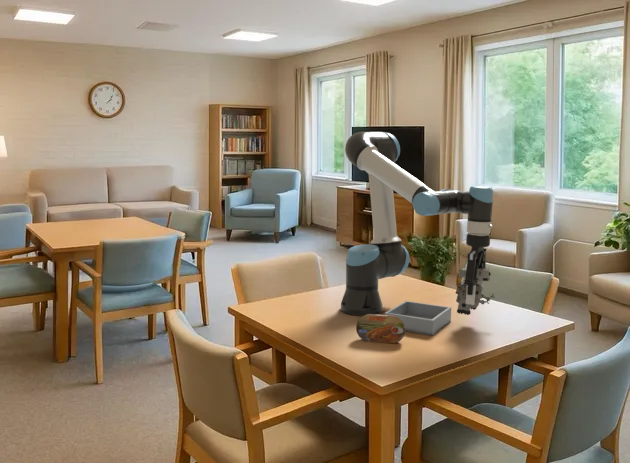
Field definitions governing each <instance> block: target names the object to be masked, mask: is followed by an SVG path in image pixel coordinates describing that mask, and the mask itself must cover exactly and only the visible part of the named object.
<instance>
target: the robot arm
mask: <svg viewBox="0 0 630 463" xmlns="http://www.w3.org/2000/svg"><path fill="white" fill-rule="evenodd" d="M344 146H345V149H344V150H345V151H344V152H345V155H346V158H347V159H348V161H349V162H350V163H351V164H352V165H354V166H355V167H356V168H358V169H359V170H360V171H365V172H366V174H368V183H369V196H370V206H371V216H372V217H371V218H372V228H373V229H372V230H373V239H372V240H371V241H370V244H358V245H354V246H351V247H350V248H349V249H347V251H346V252H347V253H346V258H345V291H344V294H343V297H342V300H341V301H340V302H341V303H340V311H341V312H342V313H345V314H348V315H351V316H352V315H353V316H361V317H363V316H364V315H367V314H376V315H380V314H382V312H383V303H382V299H381V295H380V292H379V280H382V279H385V278H390V277H391V278H393V277H396V276H399V275H401V274H403V273H404V272H405V271H406V270H407V268H408V267H409V263H410V254H409V251H408V250H407V249H406V246H404V245H402V244H403V242H402V239H401V238H400V237H399V236H398V233H397V220H396V219H397V218H396V211H395V210H396V208H395V198H394V192H396V194H398V195H400V196H401V197H402V198H404V199H405V200H407V201H408V202H409V203H411V204H412V208H413V210H414V212H415V213H416V214H417V215H419V216H426V217H430V216H431V217H432V216H436V215H443V214H453V213H456V214H464V215H467V222H466V224H467V225H466V232H467V234H466V239H465V240H466V241H465V244H466V246H469V247H471V249H470V251H469V253H467V262H466V268H467V269H466V278H464V280H465V282H464V284H467V289H466V304H470V305H474V303H475V288H476V285H475V280H476V275H477V269H486V267H487V266H486V264H487V263H486V262H487V261H486V260H487V248H488V247H489V246H490V245H491V244H490V243H491V235H490V234H491V230H492V228H493V227H494V226H493V224H492V214H493V204H494V189H493V187H491V186H485V185H483V186H481V185H472V186H469V190H468V191H467V190H466V191H465V190H459V189H458V190H457V189H453V188H446V189H445V188H442V189H440V190H437V191H436V190H433V189H432V188H430V187H429V186H428V185H426V184H425V183H423V182H422V181H421V180H419V179H418V178H417V177H415V176H414V175H412V174H411V173H409V172H408V171H406V170H405V169H403V168H401V167H400V166H399V165H398V164H396V161H397V160H398V158H399V157H400V154H401V146H400V143H399V141H398V139H397V138H396V136H395V135H394V134H391V133H390V132H385V131H358V132H355V133H353V134H352V135H351V136H349V138H348V139H347V140H346V143H345V145H344ZM469 280H471V281H469ZM477 284H479V285H480V286H481V287H483V288H484V281H478V282H477ZM482 293H483V291H482ZM480 300H483V298H482V296H481V298H480Z"/></svg>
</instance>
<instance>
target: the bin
mask: <svg viewBox="0 0 630 463" xmlns="http://www.w3.org/2000/svg"><path fill="white" fill-rule="evenodd" d="M384 315H393V316H397V317H399V318H400V319H401V320H402V321H403V322H404V325H405V332H407V333H413V334H419V335H426V336H432V337H433V336H434V335H435V334H437V333H438V332H440V330H442V329H443V328H445V327H446V326H447V325H448V324H449V323H451V321H452V307H450V306H443V305H439V304H438V305H437V304H431V303H423V302H417V301H408V300H405V301H403V302H401V303H400V304H398V305H396V306H394V307H392V308H391V309H389V310H387V311H386V312H384Z"/></svg>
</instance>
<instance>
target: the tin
mask: <svg viewBox="0 0 630 463" xmlns="http://www.w3.org/2000/svg"><path fill="white" fill-rule="evenodd" d="M355 330H356V333H357V336H358V337H359V338H360V339H361V340H362V341H364V342H368V343H369V342H370V343H384V344H396V343H398V342H401V341H402V339H403V338H404V337H405V334H406V331H405V325H404V322H403V321H402V320H401V319H400V318H399V317H397V316H393V315H385V314H367V315H364V316H361V317H360V318H359V319H358V320H357V322H356V326H355Z"/></svg>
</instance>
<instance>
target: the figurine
mask: <svg viewBox="0 0 630 463" xmlns="http://www.w3.org/2000/svg"><path fill="white" fill-rule="evenodd" d="M466 269H467V267H464V268H463V267H462V268H460V269H459V270H458V277H459V278H464V280H463V281H462V282H460V283H458V284H457V286H456V290H455V295H457V296H456V301H455V302H456V303H458V305H457V309H456V313H457V314H461V315H463V314H464V315H467V316H469V315H471V313H472V312H471V310H473V311H474V310H477V308H478V307H479V305H480V304H481V305H484V304H486V303H487V304H490V301H491V298H495V294H494V293H492V294H491V295H490V296H487V295H486V294H484V293H483V292H482V291H483V290H484V286H483V287H481V286H480V285H479V284H477V282H478V281H483V282H489V281H490V276H491V275H492V274H491V271H490V269H489V268H486V269H477V275H476V280H475V285H476V288H475V303H474V305H470V304H466V289H467V284H464V282H465V278H466ZM469 281H471V280H469ZM481 296H482V299H480V298H481Z"/></svg>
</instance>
